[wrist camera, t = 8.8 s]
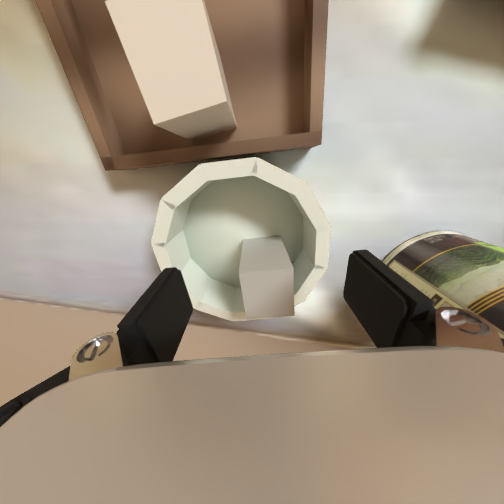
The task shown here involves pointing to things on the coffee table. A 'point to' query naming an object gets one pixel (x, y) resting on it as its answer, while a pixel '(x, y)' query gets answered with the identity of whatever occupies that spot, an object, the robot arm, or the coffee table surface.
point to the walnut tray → (235, 69)
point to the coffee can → (454, 272)
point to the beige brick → (175, 64)
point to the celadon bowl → (238, 230)
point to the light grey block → (266, 278)
